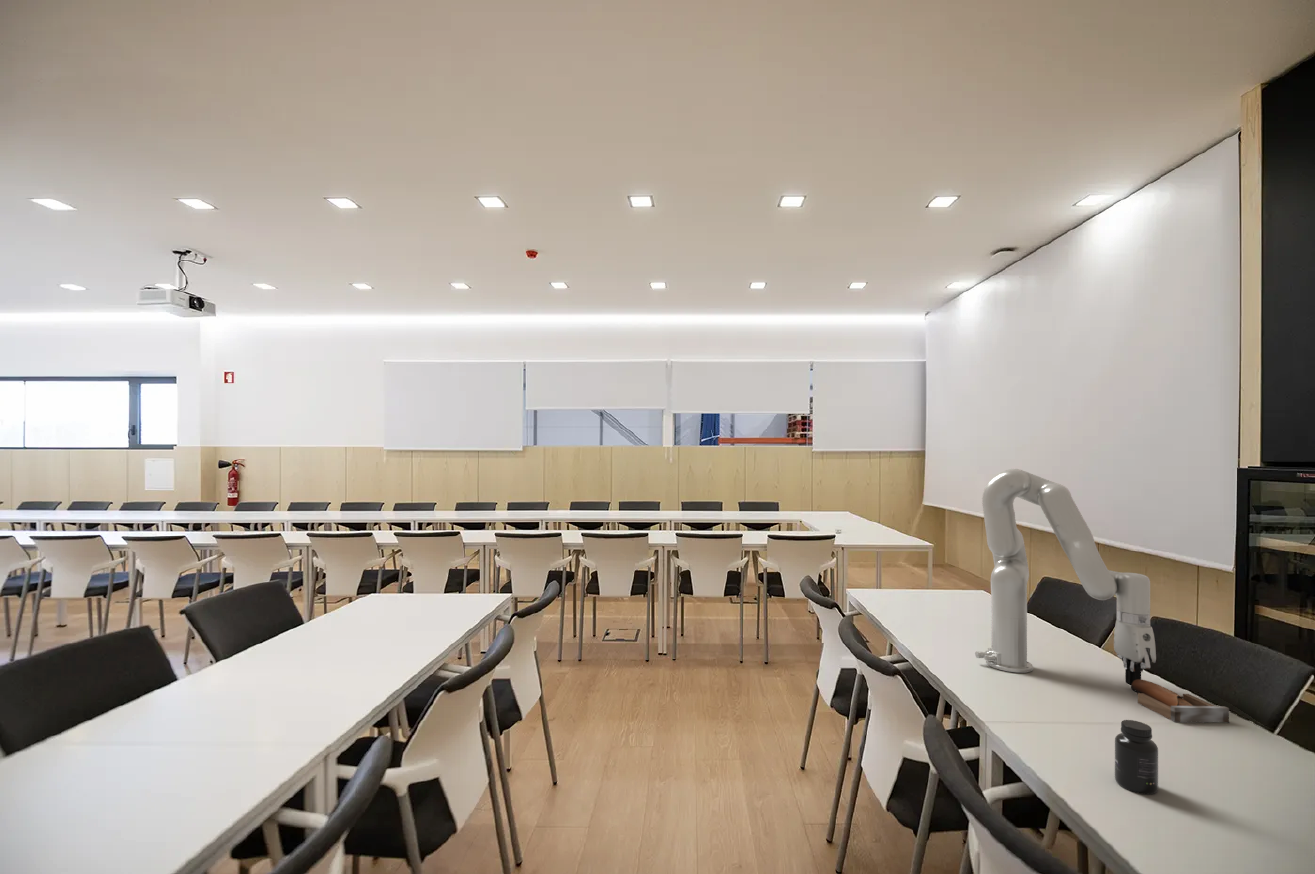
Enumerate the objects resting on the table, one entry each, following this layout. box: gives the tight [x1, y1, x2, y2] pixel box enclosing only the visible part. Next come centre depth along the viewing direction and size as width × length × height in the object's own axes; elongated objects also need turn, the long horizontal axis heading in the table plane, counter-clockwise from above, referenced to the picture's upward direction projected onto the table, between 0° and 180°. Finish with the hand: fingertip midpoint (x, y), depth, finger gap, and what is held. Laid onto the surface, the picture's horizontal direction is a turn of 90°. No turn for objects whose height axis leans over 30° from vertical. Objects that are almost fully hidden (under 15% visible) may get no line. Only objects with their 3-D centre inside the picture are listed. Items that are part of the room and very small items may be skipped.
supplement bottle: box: [1114, 719, 1159, 795], centre depth 124 cm, size 7×7×12 cm
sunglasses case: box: [1130, 678, 1193, 707], centre depth 165 cm, size 18×7×7 cm
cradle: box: [1137, 692, 1230, 723], centre depth 160 cm, size 13×12×4 cm
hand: (1133, 684), depth 176 cm, fingers closed
